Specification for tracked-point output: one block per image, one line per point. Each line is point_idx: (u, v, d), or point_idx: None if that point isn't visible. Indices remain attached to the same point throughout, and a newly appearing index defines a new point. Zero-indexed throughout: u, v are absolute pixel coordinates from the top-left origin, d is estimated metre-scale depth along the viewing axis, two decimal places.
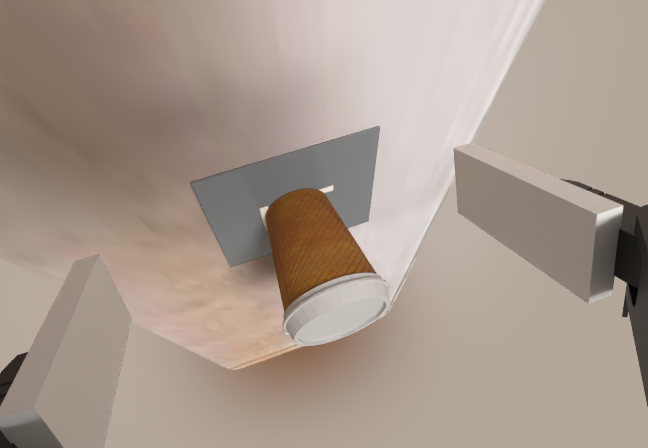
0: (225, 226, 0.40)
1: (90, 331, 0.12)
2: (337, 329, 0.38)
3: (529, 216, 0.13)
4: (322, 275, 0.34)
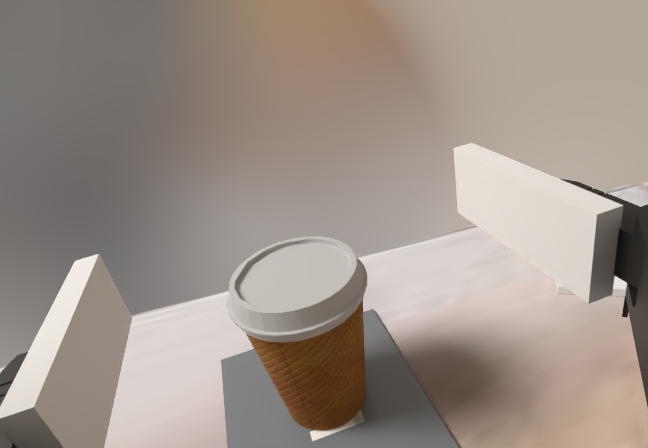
0: None
1: (90, 331, 0.12)
2: (330, 265, 0.29)
3: (529, 216, 0.13)
4: None
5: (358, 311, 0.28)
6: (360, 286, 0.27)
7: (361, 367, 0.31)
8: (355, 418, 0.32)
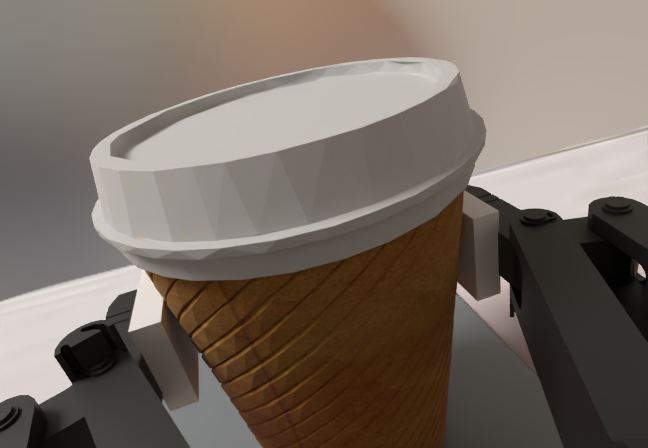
0: None
1: None
2: (376, 90, 0.11)
3: None
4: None
5: (461, 204, 0.10)
6: (472, 124, 0.09)
7: (449, 364, 0.12)
8: None
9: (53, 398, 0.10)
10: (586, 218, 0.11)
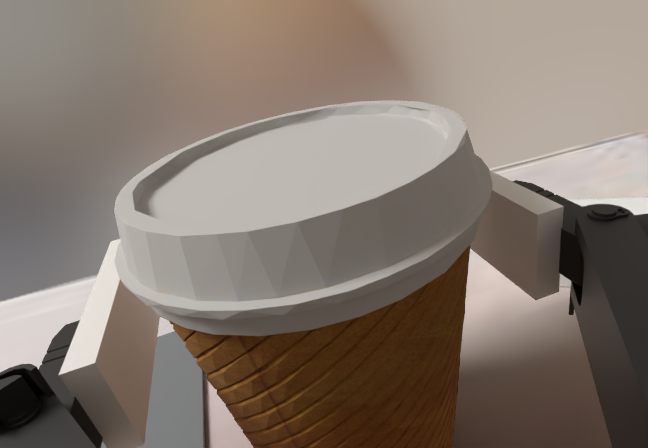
0: None
1: (131, 304, 0.13)
2: (386, 139, 0.11)
3: (484, 216, 0.13)
4: None
5: (468, 252, 0.10)
6: (479, 178, 0.10)
7: (455, 398, 0.13)
8: None
9: None
10: None
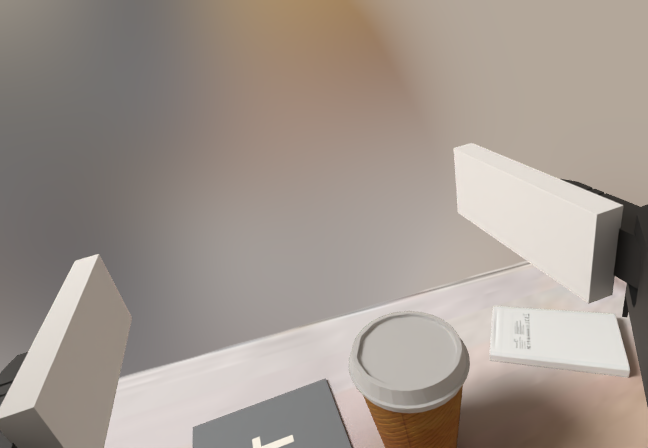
0: None
1: (90, 331, 0.12)
2: (436, 342, 0.34)
3: (529, 216, 0.13)
4: (364, 395, 0.34)
5: None
6: (465, 362, 0.33)
7: (458, 424, 0.36)
8: None
9: None
10: None
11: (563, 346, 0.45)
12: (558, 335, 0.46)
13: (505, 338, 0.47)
